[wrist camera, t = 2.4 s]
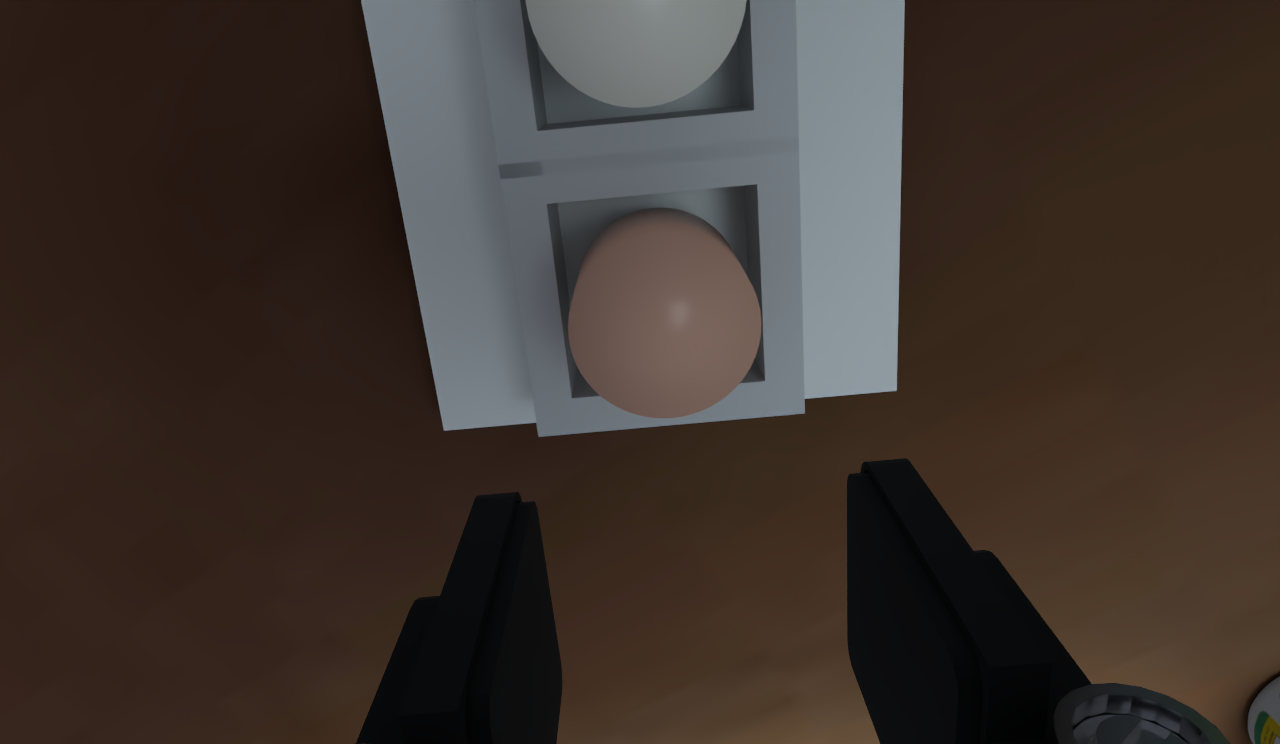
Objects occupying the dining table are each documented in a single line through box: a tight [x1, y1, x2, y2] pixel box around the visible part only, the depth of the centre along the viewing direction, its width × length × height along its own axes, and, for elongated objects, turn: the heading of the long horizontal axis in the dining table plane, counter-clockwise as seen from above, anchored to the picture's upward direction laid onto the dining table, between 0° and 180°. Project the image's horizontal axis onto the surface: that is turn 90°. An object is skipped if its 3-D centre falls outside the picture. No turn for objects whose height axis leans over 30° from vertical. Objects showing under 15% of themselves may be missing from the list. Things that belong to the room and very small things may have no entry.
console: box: [361, 0, 905, 437], centre depth 24 cm, size 26×16×5 cm, turn 6°
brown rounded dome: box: [568, 208, 761, 418], centre depth 23 cm, size 5×5×4 cm
